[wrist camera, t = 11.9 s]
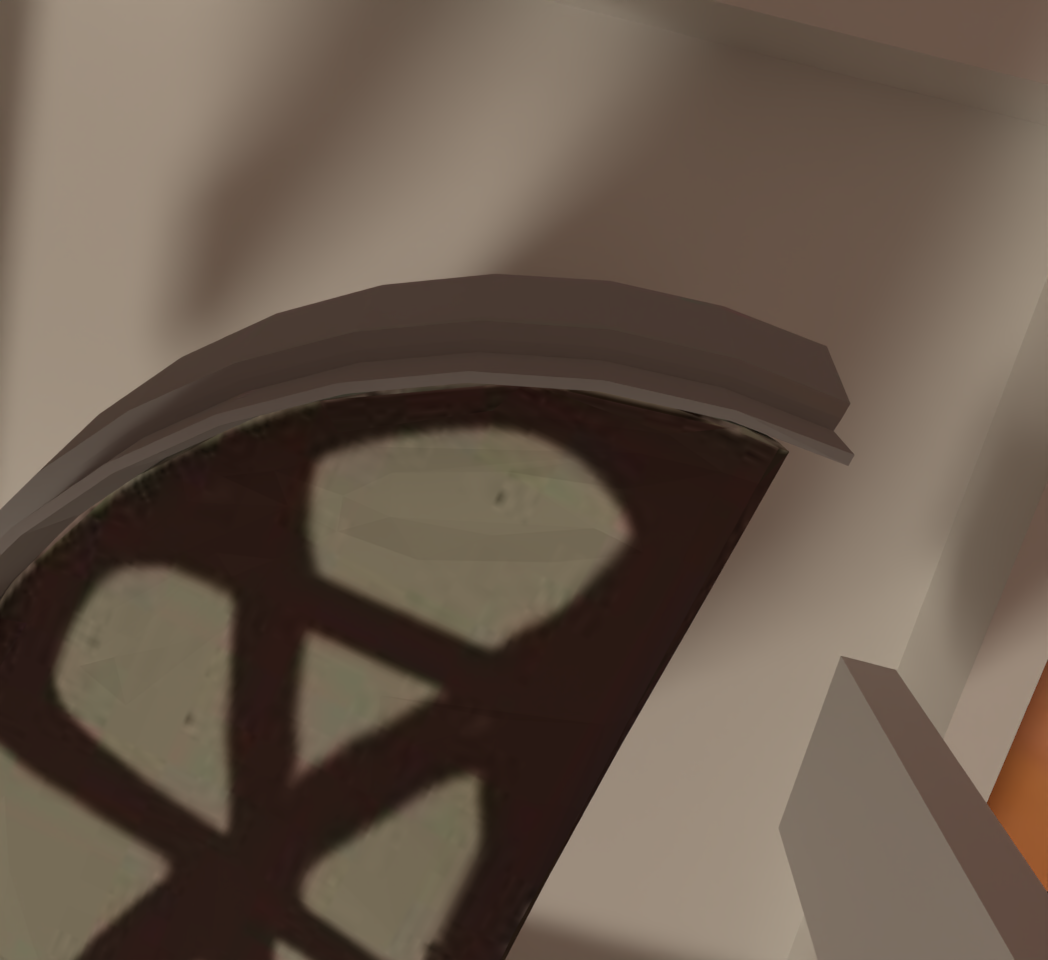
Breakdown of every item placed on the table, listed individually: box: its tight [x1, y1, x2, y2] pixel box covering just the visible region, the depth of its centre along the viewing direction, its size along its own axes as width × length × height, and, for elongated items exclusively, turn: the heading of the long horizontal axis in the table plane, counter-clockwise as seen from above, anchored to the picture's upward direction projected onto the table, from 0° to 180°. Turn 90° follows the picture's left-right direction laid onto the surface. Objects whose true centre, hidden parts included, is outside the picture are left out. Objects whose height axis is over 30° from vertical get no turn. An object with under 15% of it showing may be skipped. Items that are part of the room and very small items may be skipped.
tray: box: [0, 0, 1048, 960], centre depth 16 cm, size 20×20×3 cm
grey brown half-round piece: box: [0, 274, 854, 960], centre depth 12 cm, size 12×6×10 cm, turn 154°
